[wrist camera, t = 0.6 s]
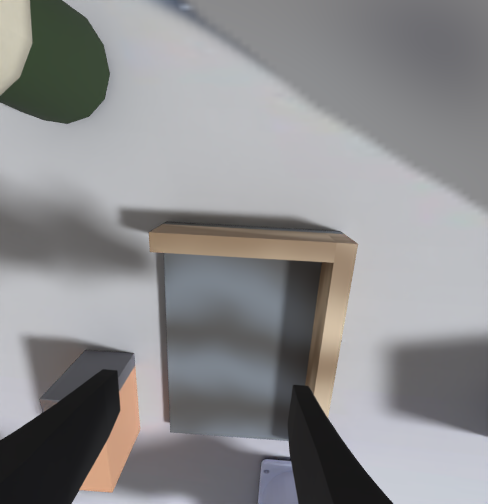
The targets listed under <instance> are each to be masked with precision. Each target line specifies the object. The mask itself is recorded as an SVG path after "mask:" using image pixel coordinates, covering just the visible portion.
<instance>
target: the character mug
mask: <svg viewBox="0 0 488 504" xmlns="http://www.w3.org/2000/svg"><path fill="white" fill-rule="evenodd" d="M109 76H110V72H109V68H108V63H107V59H106V54H105V49H104V45H103V43H102V42H101V40H100V39H99V37H98V35H97V34H96V32H95V31H94V29H93V28H92V26H91V24H90V23H89V21H88V20H87V18H85V17H84V16H83V15H81V14H80V13H79V12H77V11H76V10H75V9H73V8H72V7H70V6H69V5H68V4H66V3H65V2H64V1H62V0H0V102H1V103H3V104H5V105H8V106H10V107H12V108H14V109H17V110H19V111H21V112H24V113H26V114H29V115H32V116H34V117H37V118H40V119H42V120H46V121H53V122H59V123H65V124H68V123H71V122H74V121H77V120H80V119H83V118H86V117H89V116H90V115H91V114H92V113H93V112H94V110H95V109H96V108H97V107H98V106H99V105H100V104H101V103H102V101H103V100H104V99H105V95H106V90H107V85H108V81H109Z"/></svg>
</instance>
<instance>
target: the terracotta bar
mask: <svg viewBox="0 0 488 504" xmlns="http://www.w3.org/2000/svg"><path fill="white" fill-rule="evenodd" d="M102 369H107V370H117V371H118V384H119V397H120V409H121V410H120V413H119V415H118V418H117V420H116V422H115V425H114V427H113V429H112V431H111V434H110V436H109V438H108V440H107V442H106V443H105V445H104V447H103V449H102V451H101V452H100V454H99V456H98V458H97V460H96V461H95V463H94V465H93V467H92V468H91V470H90V472H89V474H88V475H87V477H86V479H85V481H84V482H83V484H82V486H81V488H80V489H79V490H87V491H99V492H113V490H114V488H115V486H116V483H117V481H118V479H119V477H120V474H121V472H122V470H123V468H124V465H125V463H126V461H127V458H128V456H129V454H130V452H131V449H132V447H133V445H134V443H135V440H136V438H137V436H138V434H139V431H140V422H139V409H138V396H137V383H136V370H135V358H134V353H122V352H107V351H92V350H85V351H84V352H83V353H82V354H81V355H80V356H79V358H78V359H77V360H76V361H75V362H74V363H73V364H72V365H71V366H70V367H69V368H68V369H67V370H66V371H65V372H64V374H63V375H62V376H61V377H60V378H59V379H58V380H57V381H56V382H55V383H54V384H53V385H52V386H51V387H50V388H49V390H48V391H47V392H46V393H45V394H44V395H43V396H42V397H41V398H40V403H41V408H42V413H43V412H45V411H46V410H47V409H49V408H50V407H52V406H53V405H55V404H56V403H57V402H59V401H60V400H61V399H63V398H64V397H66V396H67V395H68V394H70V393H71V392H72V391H74V390H75V389H77V388H78V387H79V386H81V385H82V384H83V383H85V382H86V381H87V380H89V379H90V378H91V377H93V376H94V375H95V374H97V373H98V372H100V371H101V370H102Z"/></svg>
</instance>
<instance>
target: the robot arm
mask: <svg viewBox="0 0 488 504" xmlns="http://www.w3.org/2000/svg"><path fill="white" fill-rule="evenodd" d="M120 410H121V409H120V397H119V384H118V371H117V370H107V369H102V370H101V371H100V372H98V373H97V374H95V375H94V376H93V377H91V378H90V379H89V380H87V381H86V382H85V383H83V384H82V385H81V386H79V387H78V388H77V389H75V390H74V391H72V392H71V393H70V394H68V395H67V396H66V397H64V398H63V399H61V400H60V401H59V402H57V403H56V404H55V405H53V406H52V407H50V408H49V409H47V410H46V411H45V412H43V413H42V414H40V415H39V416H37V417H36V418H34V419H33V420H31V421H30V422H28V423H27V424H25V425H24V426H22V427H21V428H19V429H18V430H16V431H15V432H13V433H12V434H10V435H8V436H7V437H5V438H3V439H2V440H0V504H72V502H73V500H74V498H75V496H76V495H77V493H78V491H79V489H80V488H81V486H82V484H83V482H84V481H85V479H86V477H87V475H88V474H89V472H90V470H91V468H92V467H93V465H94V463H95V461H96V460H97V458H98V456H99V454H100V452H101V451H102V449H103V447H104V445H105V443H106V442H107V440H108V438H109V436H110V434H111V431H112V429H113V427H114V425H115V422H116V420H117V418H118V415H119V413H120ZM288 438H289V451H290V458H291V461H285V460H271V459H265V460H263V461H262V463H261V472H260V483H259V494H258V504H393V503H392V502H391V500H390V499H389V498H388V497H387V496H386V495H385V494H384V493H383V491H382V490H381V489H380V488H379V487H378V486H377V484H376V483H375V482H374V481H373V480H372V478H371V477H370V476H369V475H368V474H367V472H366V471H365V470H364V468H363V467H362V466H361V465H360V463H359V462H358V461H357V459H356V458H355V457H354V455H353V454H352V453H351V451H350V450H349V449H348V447H347V446H346V444H345V443H344V442H343V440H342V439H341V437H340V436H339V434H338V433H337V431H336V430H335V428H334V427H333V425H332V424H331V422H330V421H329V419H328V418H327V416H326V414H325V413H324V411H323V410H322V408H321V406H320V405H319V403H318V401H317V399H316V398H315V396H314V394H313V392H312V391H311V389H310V387H309V386H303V385H293V388H292V396H291V403H290V410H289V417H288Z"/></svg>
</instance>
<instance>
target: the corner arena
mask: <svg viewBox="0 0 488 504" xmlns="http://www.w3.org/2000/svg"><path fill="white" fill-rule="evenodd" d="M149 244H150V252H157V253H164V274H165V301H166V328H167V356H168V383H169V410H170V432H172V433H186V434H200V435H214V436H227V437H241V438H255V439H269V440H283V441H289V438H288V417H289V410H290V403H291V396H292V388H293V385H303V386H309V387H310V389H311V391H312V392H313V394H314V396H315V398H316V399H317V401H318V403H319V405H320V406H321V408H322V410H323V411H324V413H325V414H326V416H327V418H328V414H329V409H330V403H331V397H332V391H333V386H334V380H335V374H336V368H337V362H338V357H339V351H340V345H341V339H342V334H343V328H344V322H345V316H346V310H347V305H348V299H349V293H350V287H351V281H352V276H353V270H354V264H355V258H356V253H357V247H358V244H357V243H356V242H355V241H353V240H352V239H350V238H349V237H348V236H346V235H345V234H343V233H342V232H340V231H322V230H304V229H286V228H268V227H250V226H232V225H214V224H195V223H177V222H165V223H164V224H162V225H160V226H159V227H157V228H155V229H153V230H152V231H150V232H149Z"/></svg>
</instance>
